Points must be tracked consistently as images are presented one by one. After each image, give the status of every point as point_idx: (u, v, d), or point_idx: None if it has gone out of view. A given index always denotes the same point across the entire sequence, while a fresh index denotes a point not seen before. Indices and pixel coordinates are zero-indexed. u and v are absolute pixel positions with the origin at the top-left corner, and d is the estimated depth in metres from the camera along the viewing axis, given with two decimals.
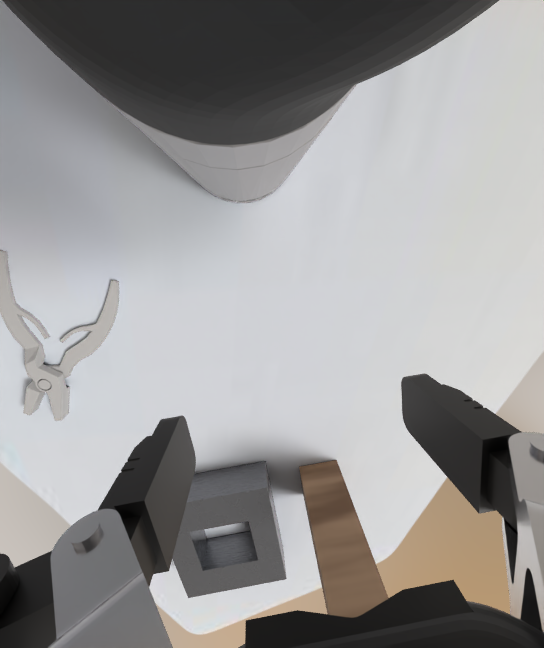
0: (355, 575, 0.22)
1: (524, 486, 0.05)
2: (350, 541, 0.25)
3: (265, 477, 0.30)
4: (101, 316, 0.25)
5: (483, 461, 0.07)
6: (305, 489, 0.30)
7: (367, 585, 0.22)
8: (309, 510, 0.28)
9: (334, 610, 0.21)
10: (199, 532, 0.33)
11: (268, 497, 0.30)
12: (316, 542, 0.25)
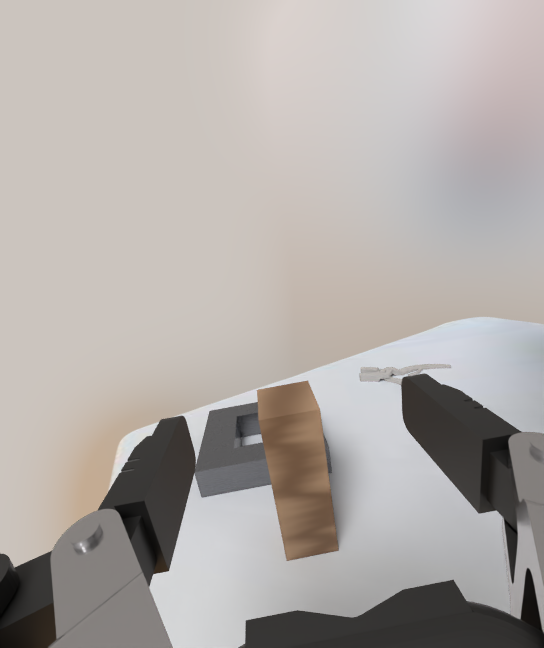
0: None
1: (524, 486, 0.05)
2: None
3: None
4: None
5: (483, 461, 0.07)
6: None
7: None
8: None
9: None
10: None
11: None
12: None
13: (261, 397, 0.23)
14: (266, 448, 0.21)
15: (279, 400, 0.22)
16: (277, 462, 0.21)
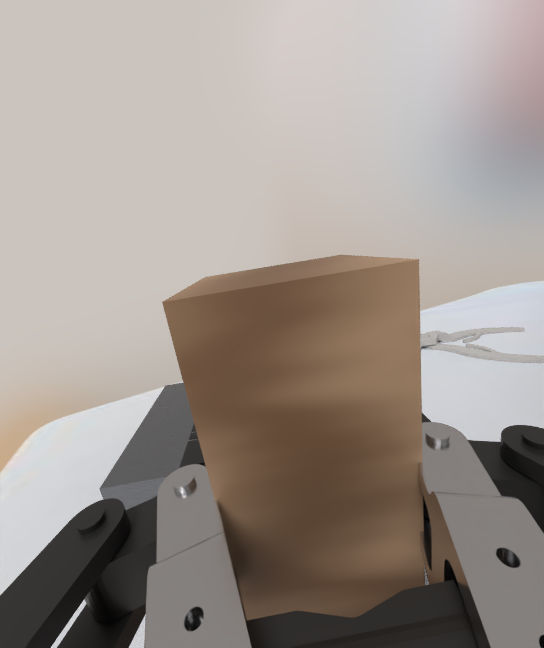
0: None
1: (428, 476, 0.06)
2: None
3: None
4: (514, 354, 0.29)
5: None
6: None
7: None
8: None
9: None
10: None
11: None
12: None
13: (208, 280, 0.08)
14: (203, 424, 0.05)
15: (258, 274, 0.07)
16: (249, 477, 0.06)
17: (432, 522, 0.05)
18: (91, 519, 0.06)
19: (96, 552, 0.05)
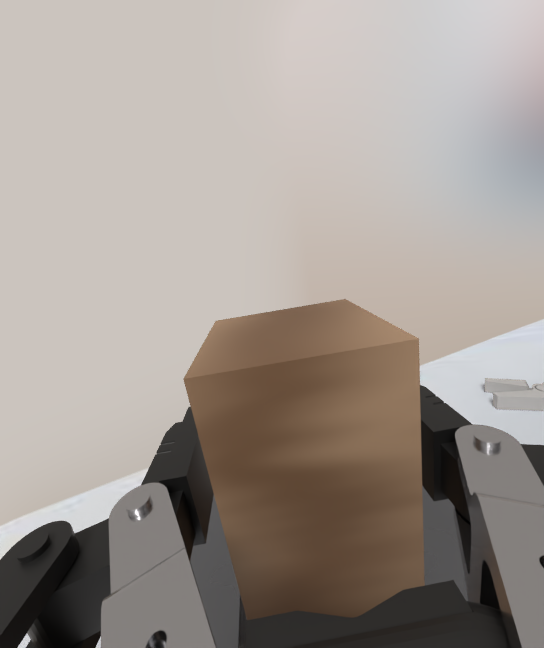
0: None
1: (472, 478, 0.05)
2: None
3: None
4: None
5: (435, 452, 0.07)
6: None
7: None
8: None
9: None
10: None
11: None
12: None
13: (219, 331, 0.08)
14: (219, 484, 0.06)
15: (268, 331, 0.07)
16: (261, 529, 0.06)
17: (472, 524, 0.05)
18: (33, 545, 0.05)
19: (32, 584, 0.05)
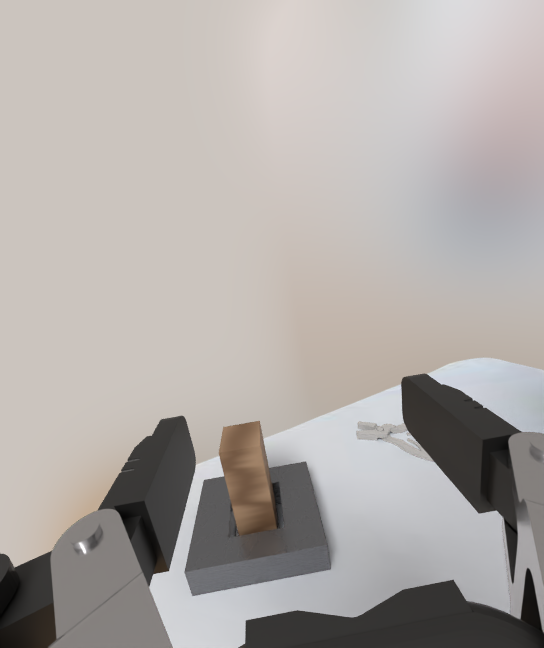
0: (263, 453, 0.33)
1: (524, 486, 0.05)
2: (267, 474, 0.33)
3: None
4: None
5: (483, 461, 0.07)
6: (273, 492, 0.37)
7: (262, 451, 0.32)
8: (270, 477, 0.37)
9: (260, 427, 0.34)
10: None
11: (313, 546, 0.29)
12: (266, 458, 0.36)
13: (224, 434, 0.33)
14: (224, 471, 0.31)
15: (236, 437, 0.32)
16: (233, 480, 0.31)
17: (520, 532, 0.05)
18: None
19: None
